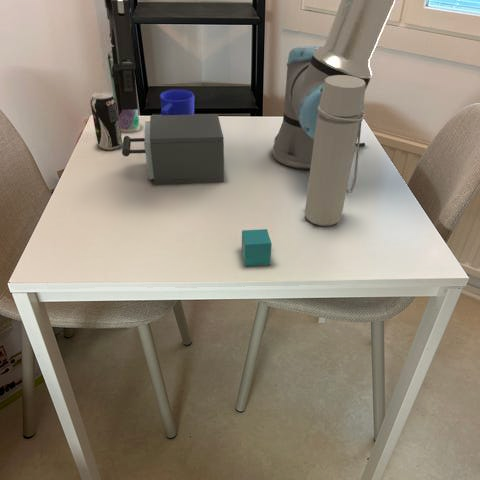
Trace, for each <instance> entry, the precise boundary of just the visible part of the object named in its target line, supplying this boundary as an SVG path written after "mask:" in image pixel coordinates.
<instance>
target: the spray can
mask: <svg viewBox="0 0 480 480" xmlns="http://www.w3.org/2000/svg"><path fill="white" fill-rule="evenodd" d="M112 47H115V45H112ZM107 60H108V62H107V63H108V70H109V76H110V83H111V89H112V96H113V97H114V99H115V100H116V104H117V110H118V117H119V124H120V131H121V133H135V132H138V131H139V130H140V129H141V126H140V116H139V108H138V109H134V110H122V106H121V96H120V86H119V85H116V84H115V75H114V65H113V56H112V49H110V51H108V52H107ZM128 61H129V60H128Z"/></svg>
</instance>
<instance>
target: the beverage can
mask: <svg viewBox="0 0 480 480" xmlns="http://www.w3.org/2000/svg"><path fill="white" fill-rule="evenodd" d="M90 110H91V115H92V120H93V125H94V131H95V136H96V141H97V145H98V147H99V148H101V149H103V150H106V151H113V150H117V149H118V148H119V147H121V146H123V139H122V131H120V124H119V117H118V110H117V104H116V100H115V99H114V95H113V92H110V91H106V90H105V91H104V90H102V91H96V92H92V94H91V99H90Z"/></svg>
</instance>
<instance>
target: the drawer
mask: <svg viewBox="0 0 480 480" xmlns="http://www.w3.org/2000/svg"><path fill="white" fill-rule="evenodd" d="M139 142H141V143H142V142H143V144H144V149H131V143H139ZM132 154H145V160H146V168H147V176H148V180H154V173H153V163H152V154H151V145H150V120H146V121H145V123H144V137H134V138H133V137H130V136H129V135H124V136H123V139H122V147H121V155H122V156H123V157H129V156H130V155H132Z"/></svg>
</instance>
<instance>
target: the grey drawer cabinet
mask: <svg viewBox="0 0 480 480" xmlns="http://www.w3.org/2000/svg"><path fill="white" fill-rule="evenodd" d="M149 117H150V119H149V121H150V145H151V154H152V163H153V173H154V179H153V180H154V185H175V184H198V183H200V184H202V183H222V182H225V179H224V175H225V173H224V171H225V170H224V167H225V166H224V163H225V162H224V161H225V160H224V158H225V157H224V155H225V154H224V153H225V151H224V148H225V146H224V143H225V140H224V134H223V129H222V125H221V122H220V121H221V120H220V118H219V114H218V113H208V114H207V113H206V114H205V113H203V114H194V115H161V114H160V115H159V114H158V115H150V116H149Z"/></svg>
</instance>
